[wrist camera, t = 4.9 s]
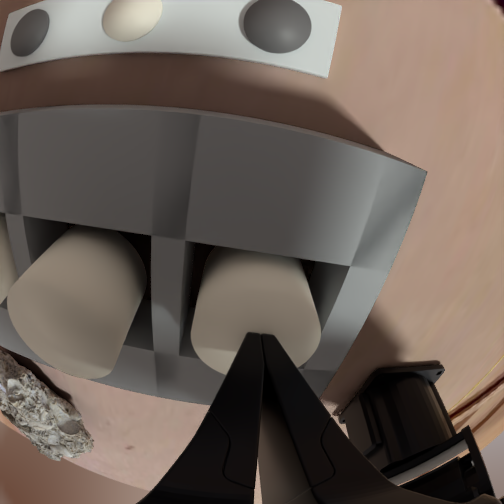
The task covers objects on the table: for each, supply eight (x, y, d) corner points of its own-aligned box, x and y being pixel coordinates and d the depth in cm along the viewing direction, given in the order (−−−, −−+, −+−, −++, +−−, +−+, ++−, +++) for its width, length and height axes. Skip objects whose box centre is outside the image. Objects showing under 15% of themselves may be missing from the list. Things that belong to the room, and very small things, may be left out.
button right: (314, 241, 11) (339, 298, 8) (288, 318, 13) (299, 382, 10) (209, 223, 11) (195, 279, 7) (199, 307, 13) (188, 371, 9)
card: (338, 8, 7) (343, 4, 7) (324, 78, 9) (329, 77, 8) (14, 14, 6) (6, 13, 5) (2, 72, 7) (-7, 72, 6)
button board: (385, 151, 10) (427, 171, 7) (302, 367, 15) (310, 411, 13) (-33, 118, 8) (-73, 131, 5) (-2, 304, 13) (-24, 333, 11)
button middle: (146, 230, 9) (104, 297, 6) (148, 319, 11) (123, 390, 8) (51, 216, 9) (-7, 267, 6) (65, 300, 11) (28, 359, 8)
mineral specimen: (29, 400, 21) (-27, 326, 14) (113, 424, 22) (67, 354, 15) (15, 443, 16) (-55, 379, 10) (104, 476, 17) (41, 430, 11)
